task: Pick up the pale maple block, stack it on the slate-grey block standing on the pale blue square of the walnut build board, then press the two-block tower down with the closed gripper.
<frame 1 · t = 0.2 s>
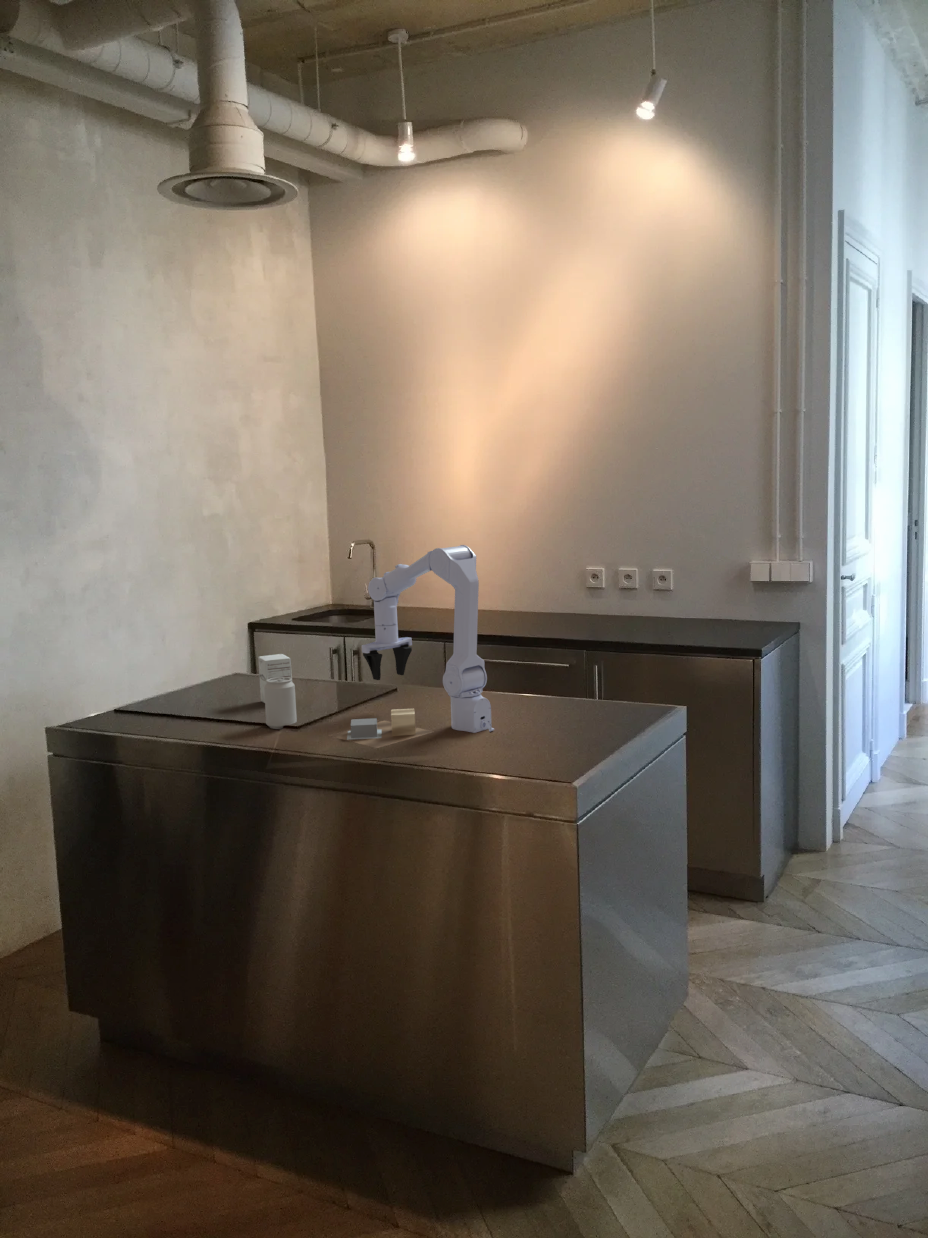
hand: (388, 677, 279), 10 cm above the countertop, tool pointing down, fingers open, 7 cm apart
build board: (381, 737, 259), on the countertop
grey base block: (364, 734, 258), point 1 cm above the countertop, touching build board
supplement box: (277, 703, 300), on the countertop
maple cube: (403, 732, 259), point 1 cm above the countertop, touching build board
can: (281, 726, 273), on the countertop
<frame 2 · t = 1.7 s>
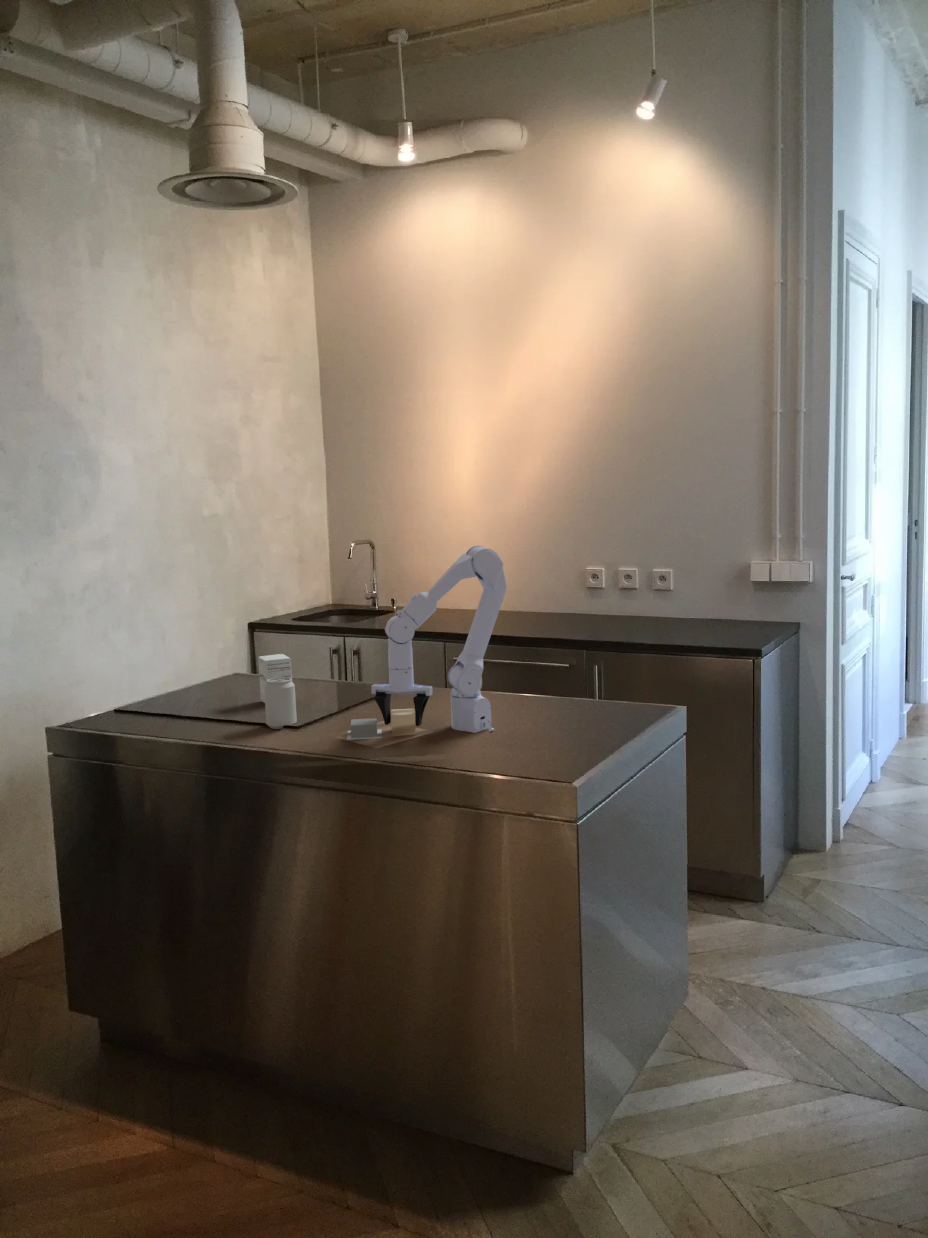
hand: (403, 724, 259), 3 cm above the countertop, tool pointing down, fingers open, 7 cm apart
maple cube: (403, 732, 259), point 1 cm above the countertop, touching build board, gripper
everything else where it was.
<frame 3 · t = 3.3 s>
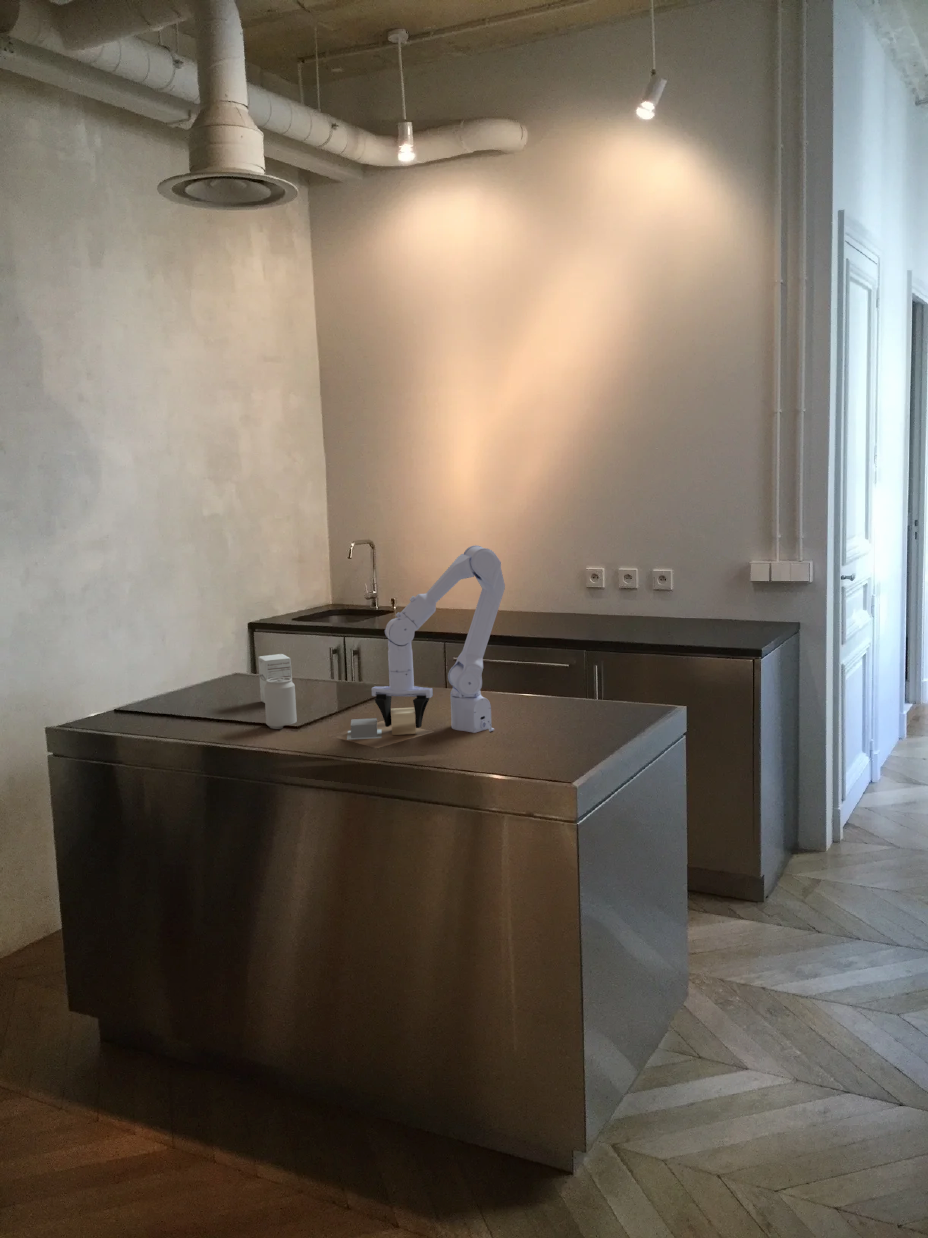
hand: (403, 726, 259), 2 cm above the countertop, tool pointing down, fingers closed on maple cube, 7 cm apart
maple cube: (403, 731, 259), point 1 cm above the countertop, touching gripper
everything else where it was.
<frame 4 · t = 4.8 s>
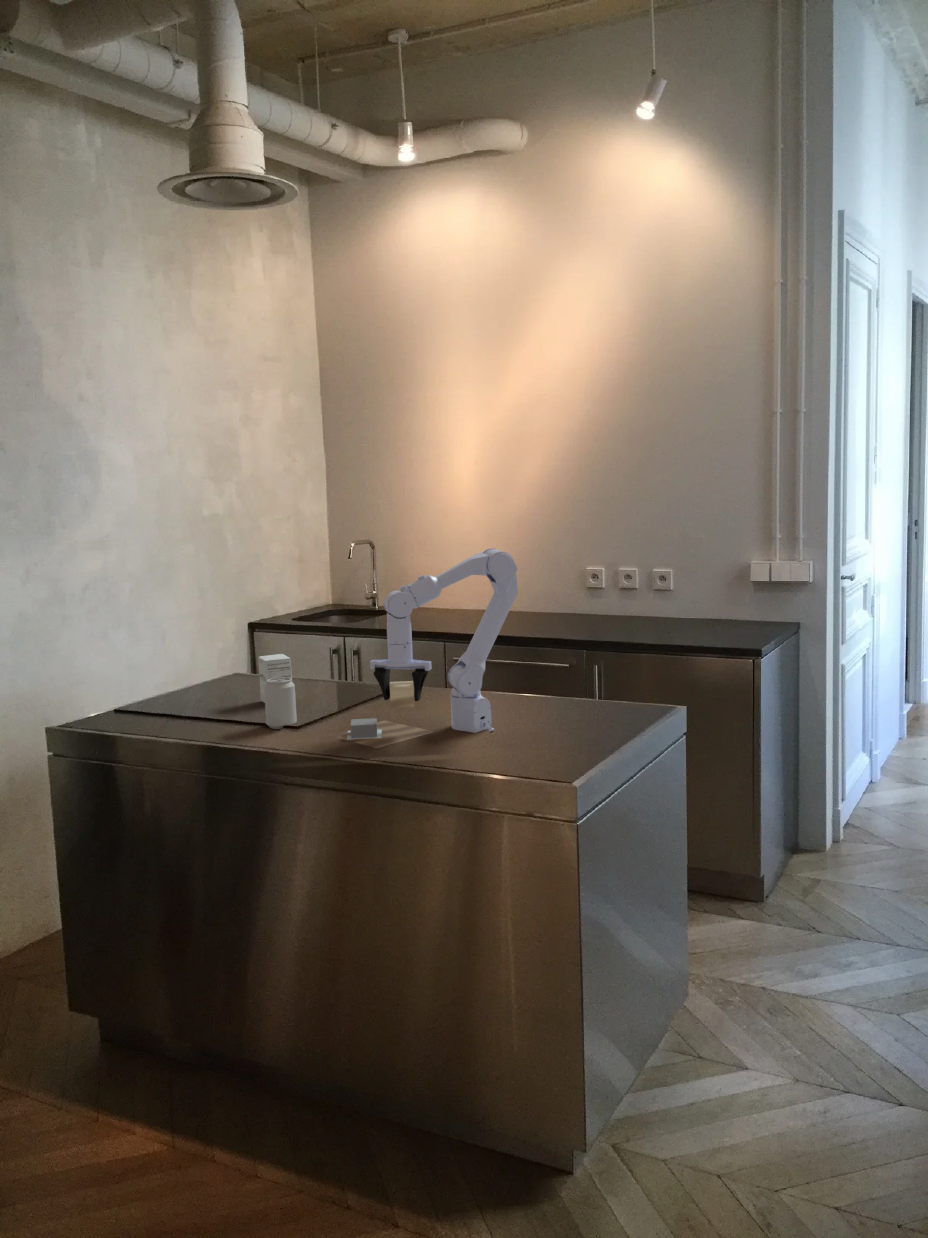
hand: (402, 699, 258), 9 cm above the countertop, tool pointing down, fingers closed on maple cube, 7 cm apart
maple cube: (402, 704, 258), point 8 cm above the countertop, touching gripper
everything else where it was.
when the fingers open (6 cm above the countertop, at t = 7.7 s): maple cube drops 1 cm, resting on grey base block.
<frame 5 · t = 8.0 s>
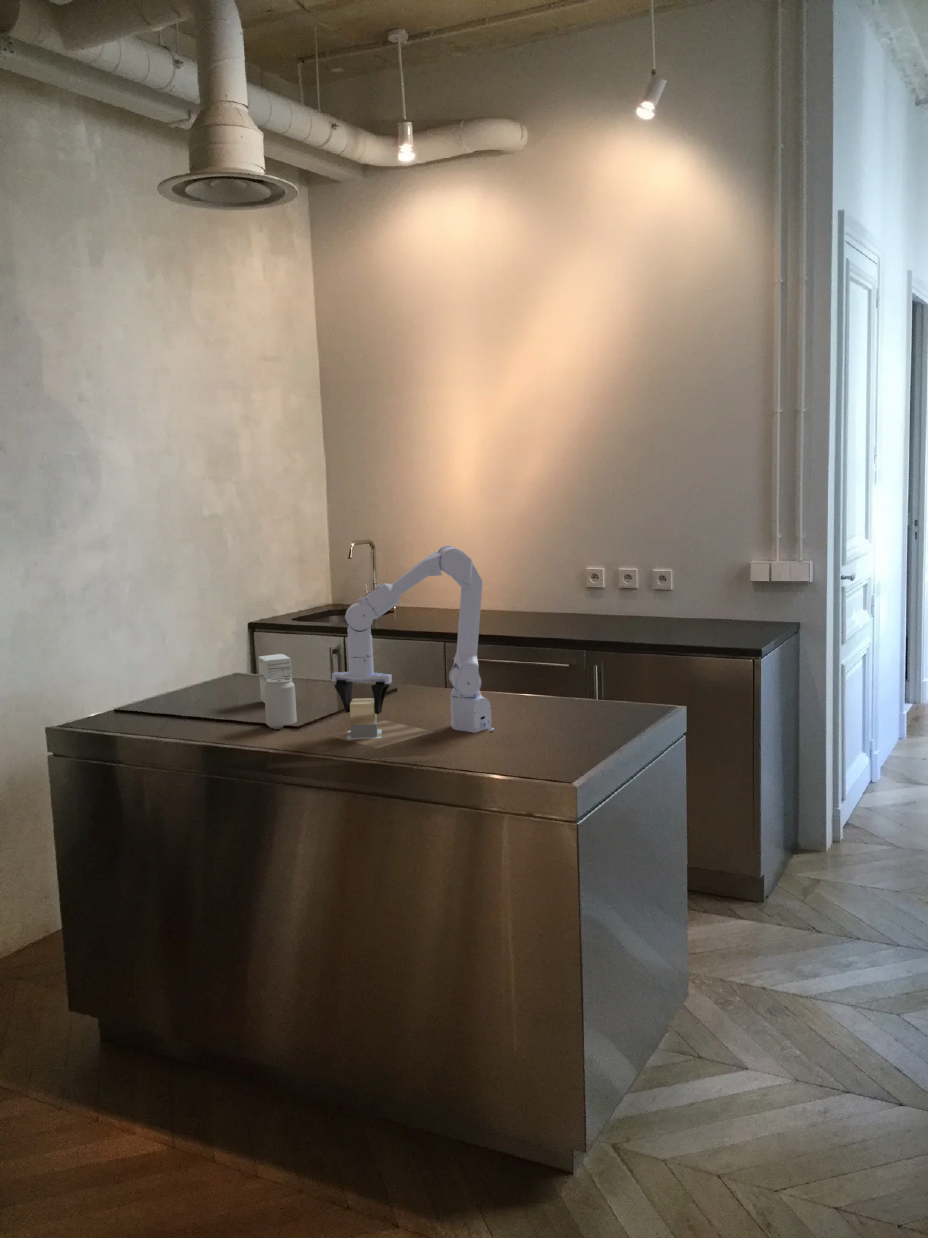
hand: (363, 712, 258), 6 cm above the countertop, tool pointing down, fingers open, 7 cm apart
grey base block: (364, 734, 258), point 1 cm above the countertop, touching build board, maple cube
maple cube: (363, 721, 258), point 4 cm above the countertop, touching grey base block
everything else where it was.
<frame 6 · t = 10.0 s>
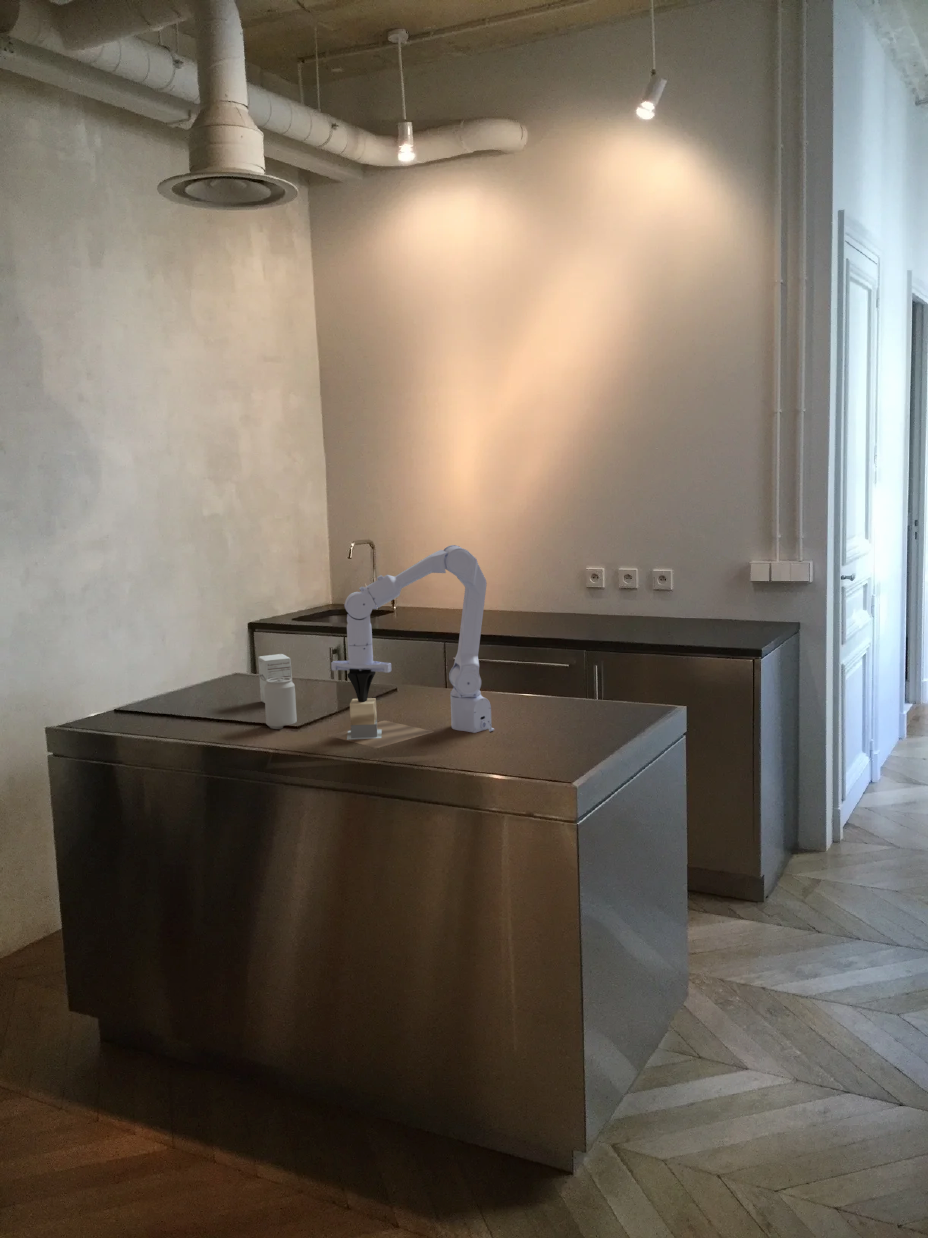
hand: (362, 701, 257), 9 cm above the countertop, tool pointing down, fingers closed, pressing on maple cube
maple cube: (363, 721, 258), point 4 cm above the countertop, touching grey base block, gripper
everything else where it was.
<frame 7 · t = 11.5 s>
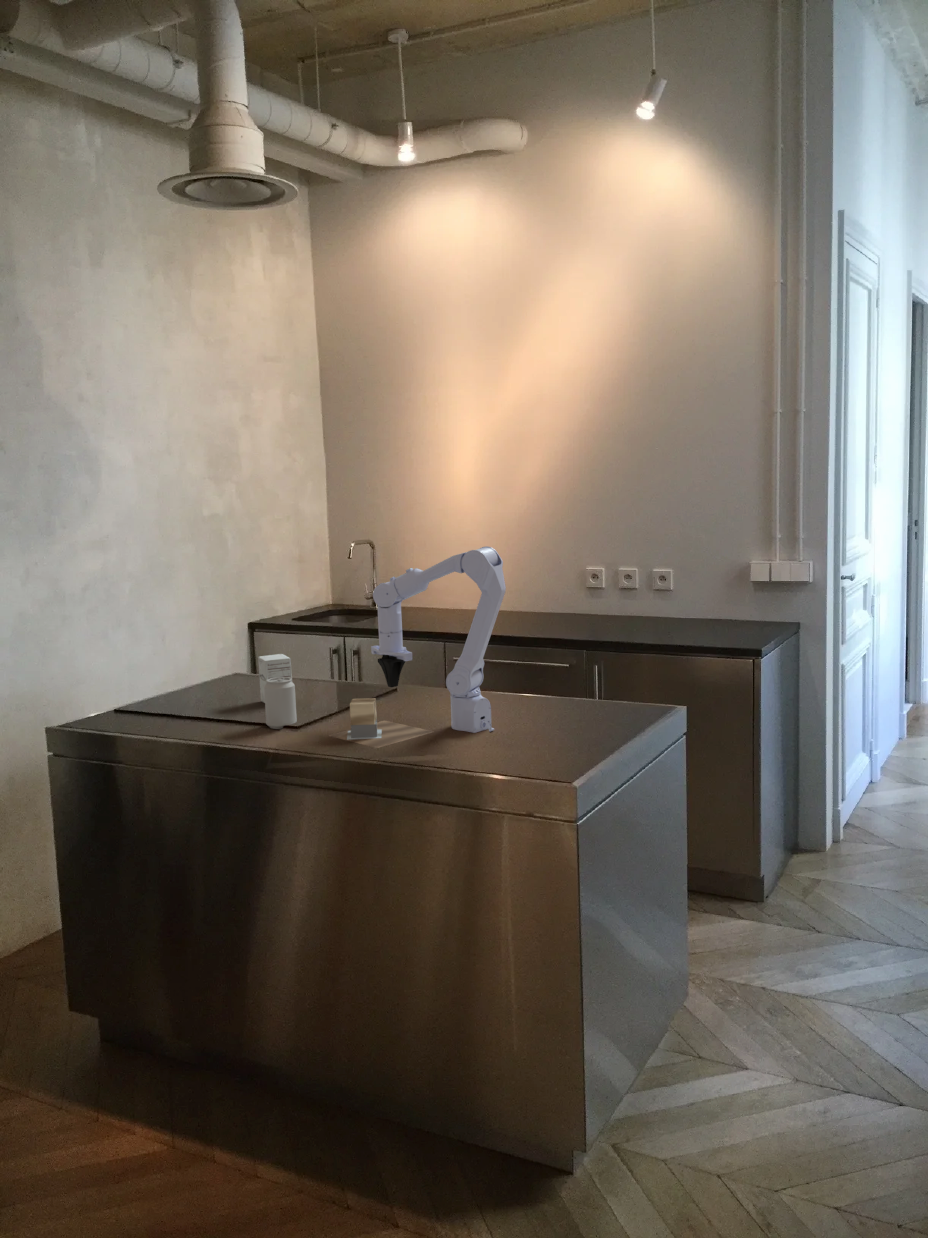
hand: (392, 686, 268), 10 cm above the countertop, tool pointing down, fingers closed
maple cube: (363, 721, 258), point 4 cm above the countertop, touching grey base block
everything else where it was.
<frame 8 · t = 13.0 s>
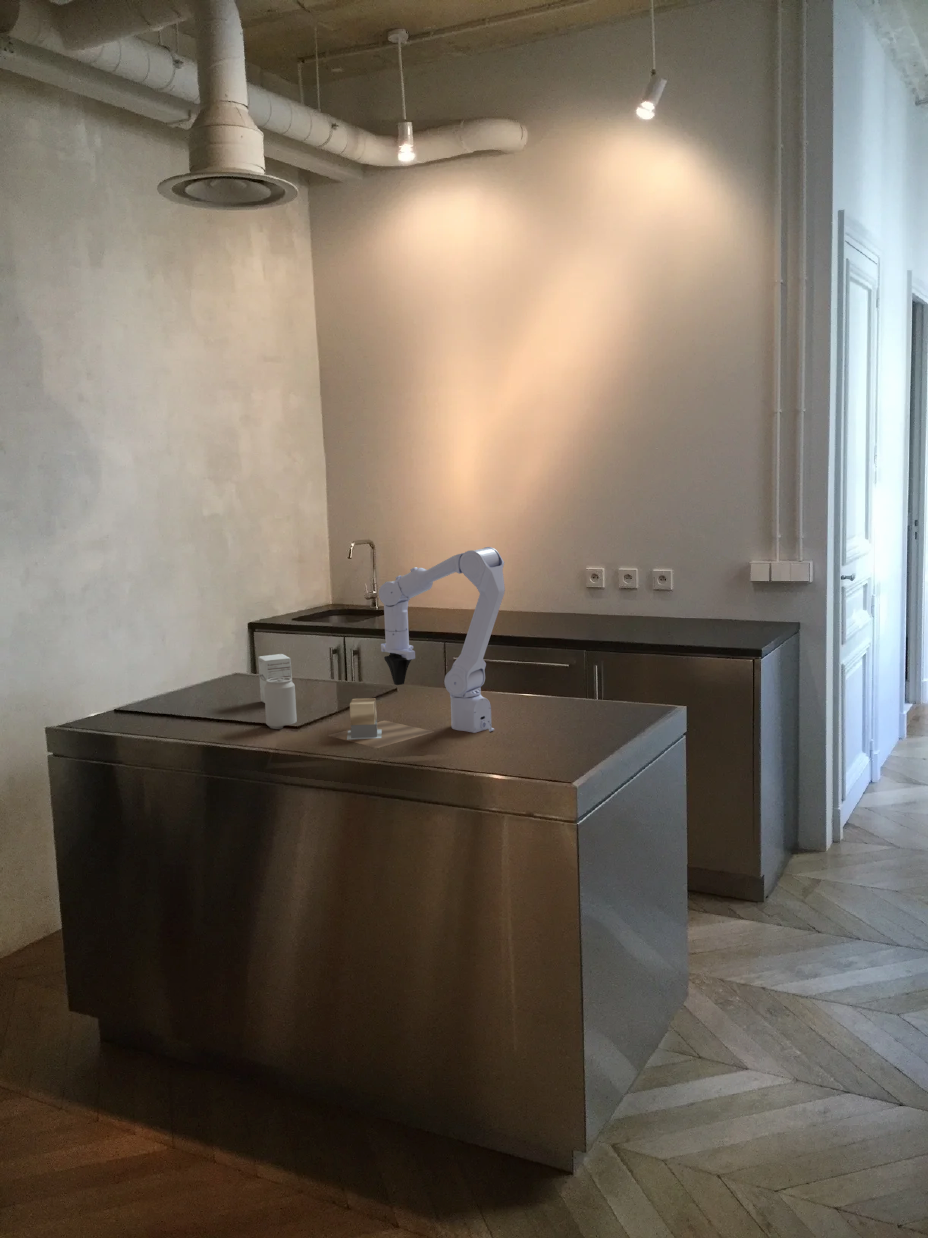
hand: (399, 684, 270), 10 cm above the countertop, tool pointing down, fingers closed
nothing on the countertop moved.
at the end: maple cube 0.0 cm off-centre on the grey base block, point 3.0 cm above the grey base block's base; grey base block 0.0 cm from the target spot, point 1.0 cm above the countertop; maple cube tilted 0° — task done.
